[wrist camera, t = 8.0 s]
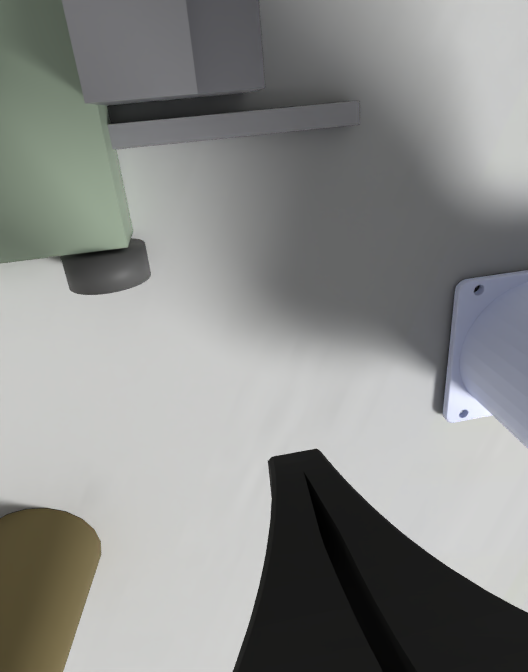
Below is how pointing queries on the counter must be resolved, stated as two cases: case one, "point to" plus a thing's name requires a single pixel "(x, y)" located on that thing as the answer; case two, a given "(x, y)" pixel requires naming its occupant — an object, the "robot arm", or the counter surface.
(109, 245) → the mower deck
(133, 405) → the counter surface
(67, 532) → the olive brown tapered figure
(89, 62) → the grey block on ledge
